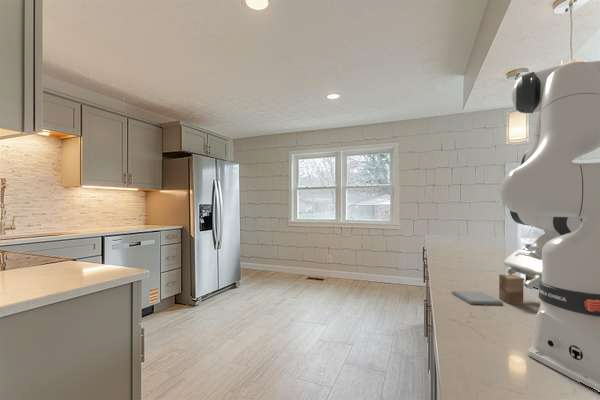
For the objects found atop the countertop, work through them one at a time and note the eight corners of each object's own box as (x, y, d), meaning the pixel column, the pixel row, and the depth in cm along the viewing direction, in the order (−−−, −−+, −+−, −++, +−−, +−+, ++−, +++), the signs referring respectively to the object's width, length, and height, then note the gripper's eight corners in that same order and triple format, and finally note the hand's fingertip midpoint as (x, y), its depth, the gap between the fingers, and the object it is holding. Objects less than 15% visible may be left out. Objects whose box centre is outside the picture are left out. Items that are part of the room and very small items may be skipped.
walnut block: (523, 304, 92) (523, 278, 92) (508, 304, 92) (509, 277, 92) (512, 299, 97) (513, 274, 97) (498, 299, 96) (499, 274, 97)
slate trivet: (502, 305, 91) (502, 302, 91) (470, 304, 91) (470, 301, 91) (480, 294, 102) (480, 291, 102) (451, 293, 102) (451, 290, 102)
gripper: (515, 241, 105) (488, 268, 105) (568, 250, 84) (533, 284, 84) (528, 254, 105) (500, 281, 105) (583, 266, 84) (549, 300, 84)
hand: (515, 282), depth 94 cm, fingers open, 8 cm apart
